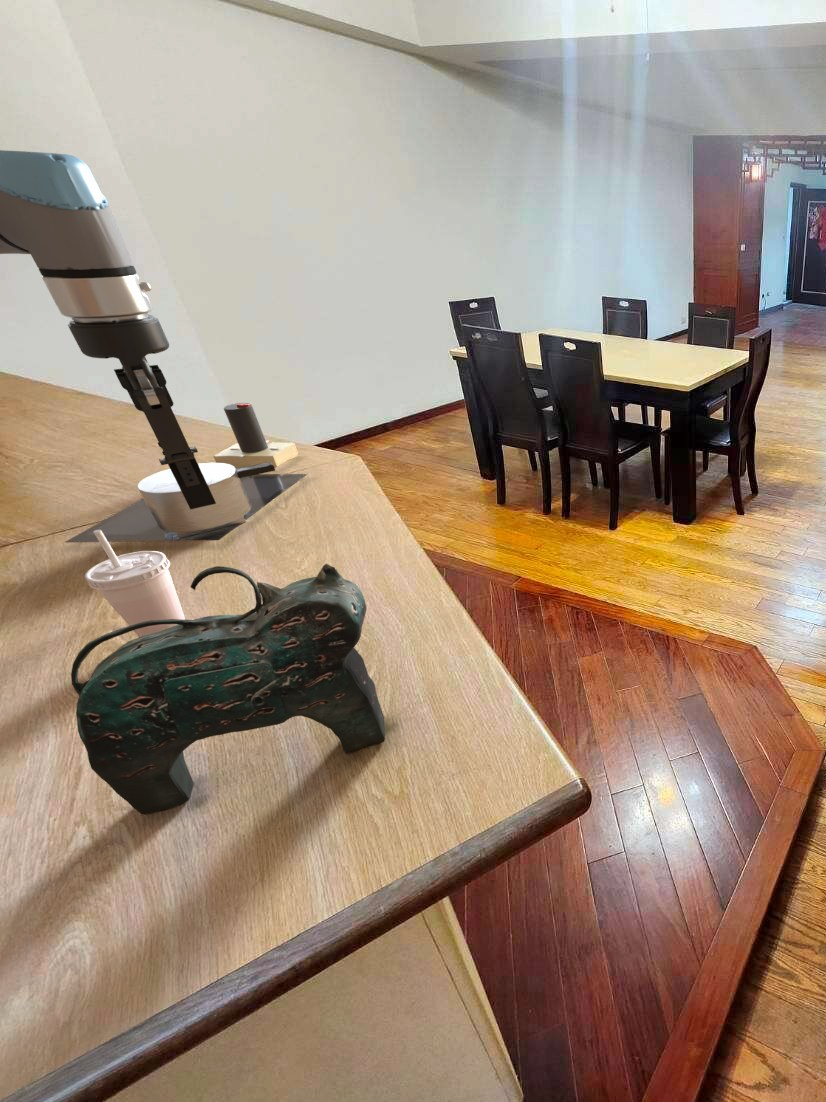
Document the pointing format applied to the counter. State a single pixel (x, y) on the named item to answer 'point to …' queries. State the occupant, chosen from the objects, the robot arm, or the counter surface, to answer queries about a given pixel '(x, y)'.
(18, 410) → the counter surface
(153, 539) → the hob
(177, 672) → the ceramic cat
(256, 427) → the dark grey cylinder
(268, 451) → the cream base block
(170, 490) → the saucepan
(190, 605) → the counter surface
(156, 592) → the smoothie
